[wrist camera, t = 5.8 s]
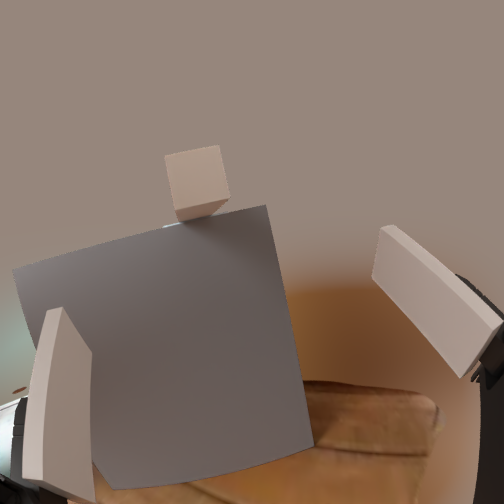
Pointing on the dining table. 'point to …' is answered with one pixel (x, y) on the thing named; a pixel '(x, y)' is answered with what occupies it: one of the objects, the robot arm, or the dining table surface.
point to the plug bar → (197, 182)
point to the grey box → (180, 348)
